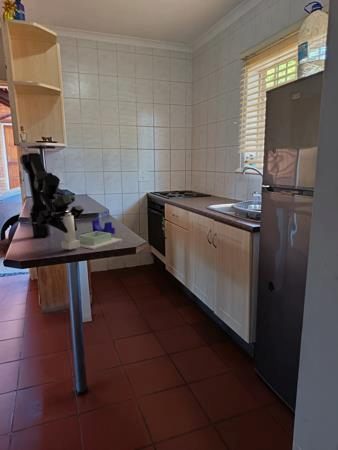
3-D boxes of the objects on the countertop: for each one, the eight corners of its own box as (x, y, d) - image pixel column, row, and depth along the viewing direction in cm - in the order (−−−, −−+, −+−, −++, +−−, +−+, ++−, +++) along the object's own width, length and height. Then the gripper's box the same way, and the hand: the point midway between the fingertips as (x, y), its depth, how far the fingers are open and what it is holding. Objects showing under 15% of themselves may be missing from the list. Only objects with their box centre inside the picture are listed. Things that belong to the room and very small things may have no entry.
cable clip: (114, 233, 148) (114, 221, 147) (107, 235, 145) (106, 223, 144) (100, 230, 156) (99, 219, 155) (93, 232, 153) (92, 220, 152)
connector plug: (61, 247, 120) (58, 214, 118) (72, 244, 124) (69, 212, 122) (69, 249, 117) (66, 215, 115) (80, 246, 121) (77, 213, 119)
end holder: (68, 244, 130) (68, 236, 129) (97, 236, 143) (97, 229, 142) (93, 249, 121) (92, 240, 120) (122, 240, 133) (121, 232, 133)
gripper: (37, 190, 111) (58, 222, 107) (79, 186, 126) (98, 214, 122) (28, 209, 117) (47, 241, 113) (69, 204, 132) (87, 231, 128)
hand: (71, 231), depth 119 cm, fingers closed on connector plug, 4 cm apart
